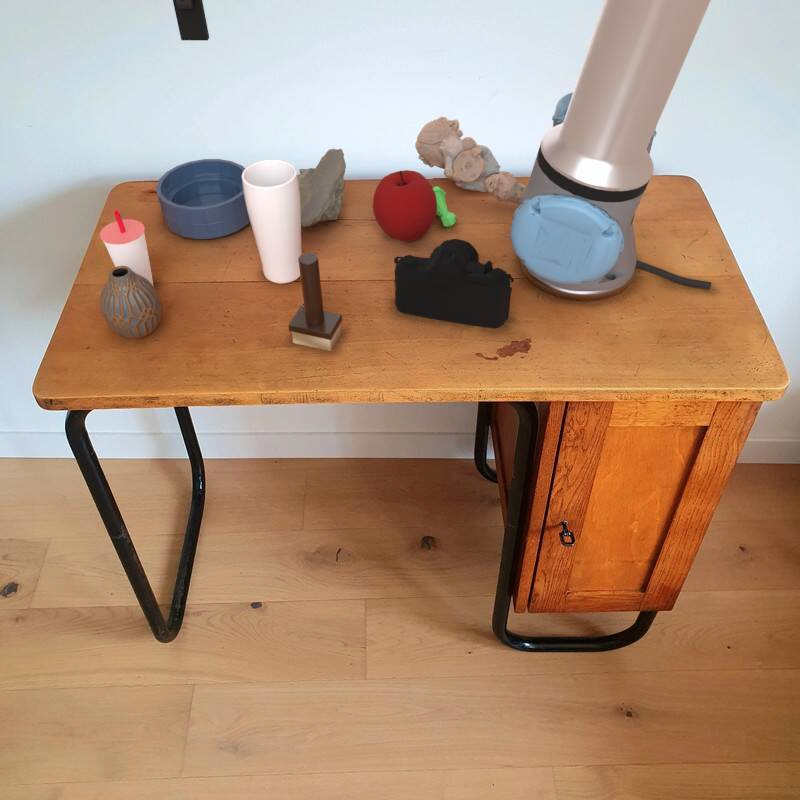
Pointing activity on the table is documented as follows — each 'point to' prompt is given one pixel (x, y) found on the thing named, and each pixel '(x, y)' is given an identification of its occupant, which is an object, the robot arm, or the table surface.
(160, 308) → the vase
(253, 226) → the drinking glass
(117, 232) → the cup
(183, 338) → the table surface
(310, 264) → the brush
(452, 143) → the figurine
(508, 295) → the film camera
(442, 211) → the game piece
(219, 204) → the bowl
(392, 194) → the apple
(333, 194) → the grey rock
